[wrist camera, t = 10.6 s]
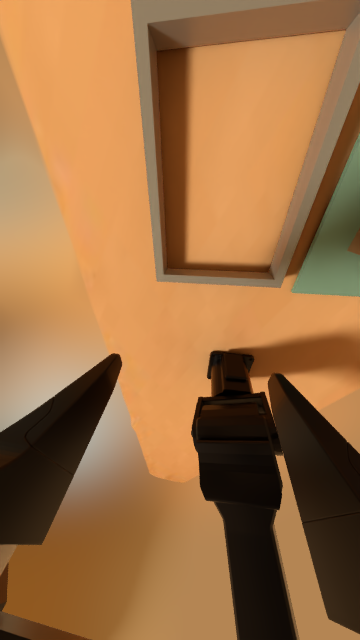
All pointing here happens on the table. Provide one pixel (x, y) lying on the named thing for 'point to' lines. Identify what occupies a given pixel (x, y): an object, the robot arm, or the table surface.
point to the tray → (232, 26)
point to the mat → (336, 240)
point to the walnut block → (355, 244)
